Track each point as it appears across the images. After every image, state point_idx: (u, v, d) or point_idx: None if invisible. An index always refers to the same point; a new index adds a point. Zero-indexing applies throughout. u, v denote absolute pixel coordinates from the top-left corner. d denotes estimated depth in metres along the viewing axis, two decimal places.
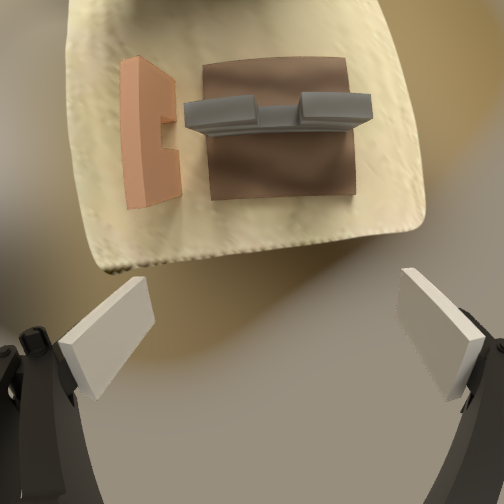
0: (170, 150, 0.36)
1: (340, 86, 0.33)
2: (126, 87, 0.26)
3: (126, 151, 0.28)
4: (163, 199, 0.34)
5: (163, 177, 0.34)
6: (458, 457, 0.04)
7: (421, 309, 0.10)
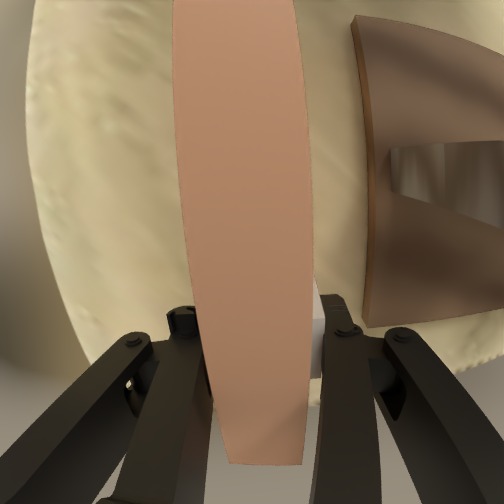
0: None
1: None
2: None
3: (225, 305, 0.06)
4: None
5: None
6: (318, 450, 0.05)
7: None
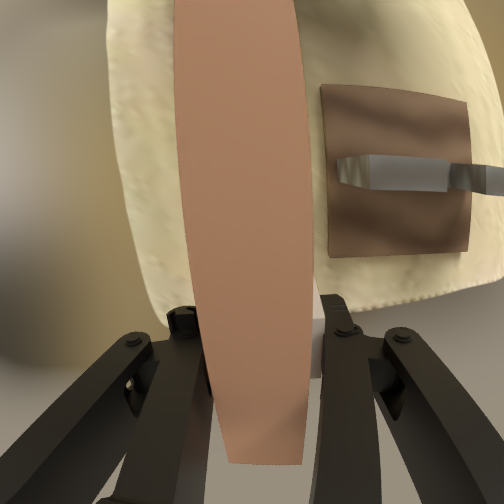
0: None
1: (463, 135, 0.26)
2: None
3: (226, 305, 0.06)
4: None
5: None
6: (318, 450, 0.05)
7: None
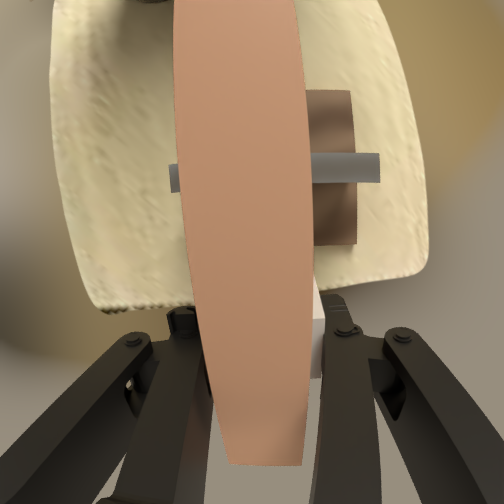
0: None
1: (343, 124, 0.32)
2: None
3: (226, 307, 0.06)
4: None
5: None
6: (318, 450, 0.05)
7: None
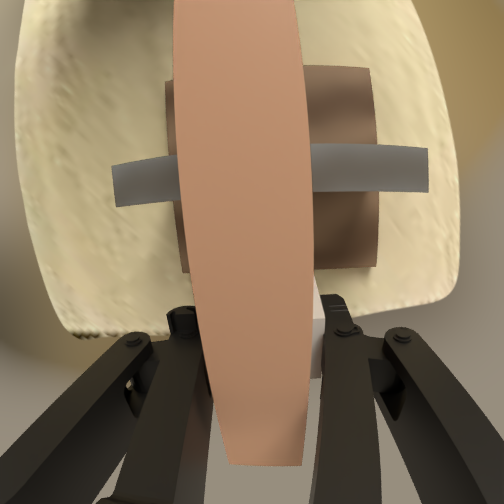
0: None
1: (362, 111, 0.23)
2: None
3: (225, 307, 0.06)
4: None
5: None
6: (318, 450, 0.05)
7: None
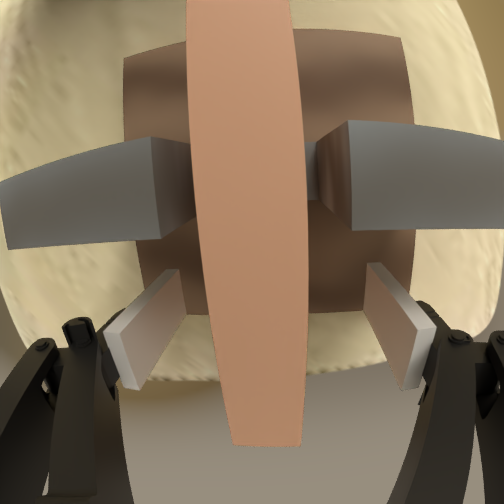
0: None
1: (394, 92, 0.15)
2: None
3: (232, 291, 0.07)
4: None
5: None
6: (417, 451, 0.04)
7: (382, 301, 0.11)
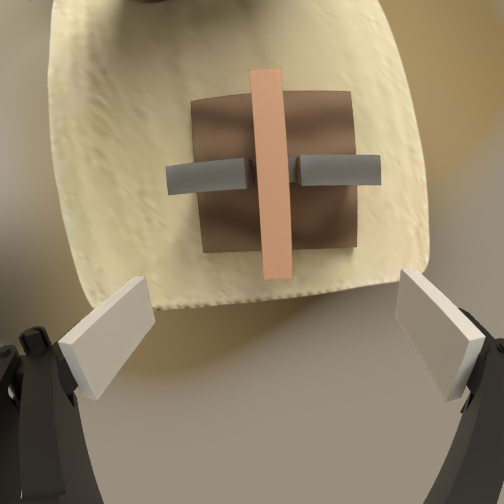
0: None
1: (344, 126, 0.31)
2: (264, 111, 0.21)
3: (267, 204, 0.23)
4: None
5: None
6: (458, 457, 0.04)
7: (421, 309, 0.10)
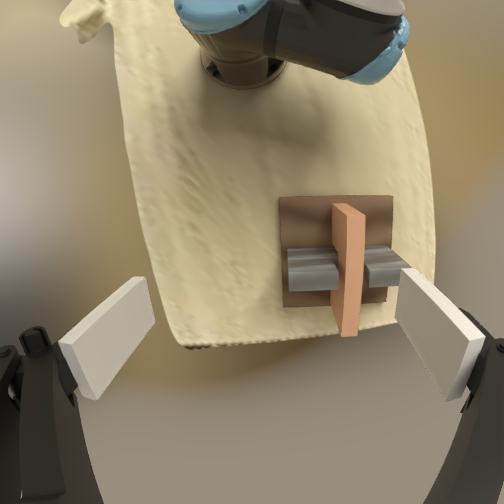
0: None
1: (386, 222, 0.46)
2: (353, 244, 0.36)
3: (348, 298, 0.38)
4: None
5: None
6: (458, 457, 0.04)
7: (421, 309, 0.10)
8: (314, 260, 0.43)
